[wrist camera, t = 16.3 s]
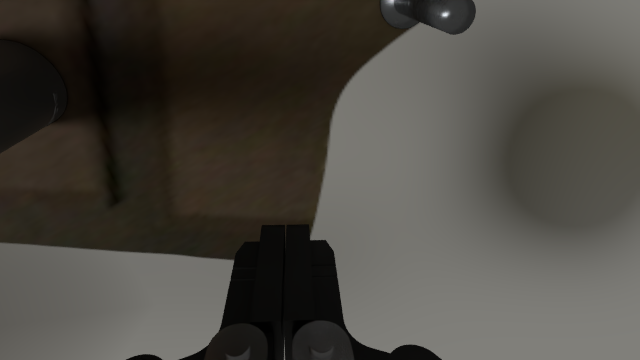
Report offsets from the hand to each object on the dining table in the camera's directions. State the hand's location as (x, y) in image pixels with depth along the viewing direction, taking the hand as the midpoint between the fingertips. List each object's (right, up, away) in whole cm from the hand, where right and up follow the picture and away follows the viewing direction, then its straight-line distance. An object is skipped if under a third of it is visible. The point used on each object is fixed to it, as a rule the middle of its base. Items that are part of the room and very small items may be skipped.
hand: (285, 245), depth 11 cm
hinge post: (+10, +20, +24) cm, 33 cm away
